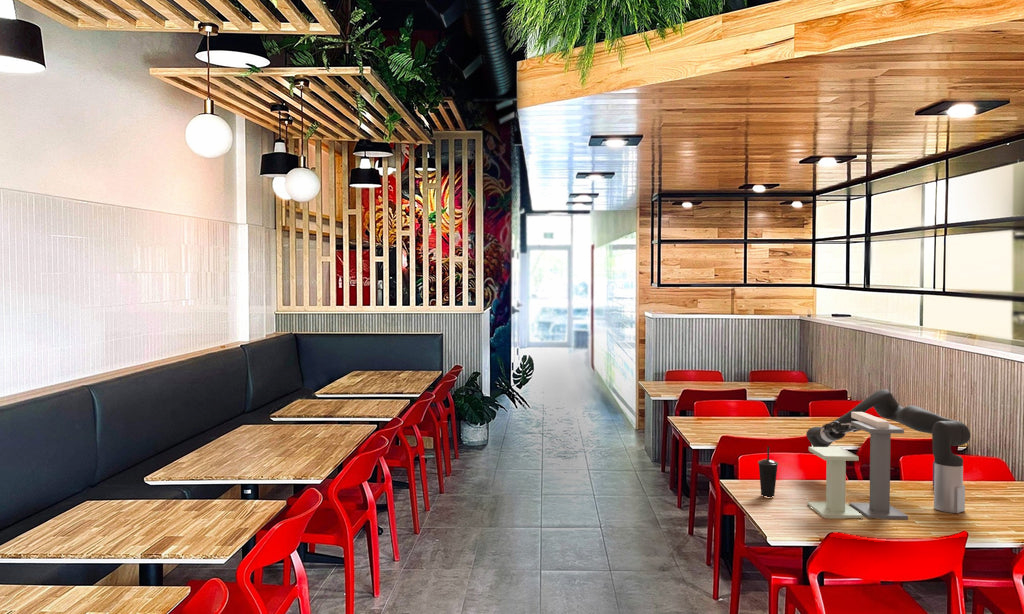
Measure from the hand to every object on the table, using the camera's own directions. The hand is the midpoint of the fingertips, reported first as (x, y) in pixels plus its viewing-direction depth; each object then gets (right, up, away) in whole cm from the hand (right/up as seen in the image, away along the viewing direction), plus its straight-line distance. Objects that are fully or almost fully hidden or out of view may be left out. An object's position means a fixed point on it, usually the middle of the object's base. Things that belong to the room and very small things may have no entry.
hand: (848, 424), depth 294 cm
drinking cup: (-33, -29, -2) cm, 44 cm away
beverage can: (+44, -29, +11) cm, 53 cm away
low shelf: (-16, -29, -21) cm, 39 cm away
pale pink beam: (+1, +3, -16) cm, 16 cm away
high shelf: (0, -29, -21) cm, 36 cm away
